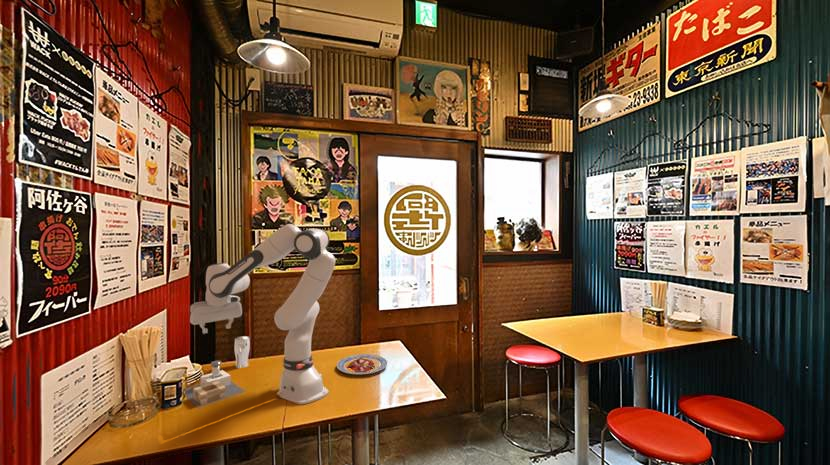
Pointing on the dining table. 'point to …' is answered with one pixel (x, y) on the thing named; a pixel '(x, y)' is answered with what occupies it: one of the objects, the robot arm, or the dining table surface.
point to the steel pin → (215, 369)
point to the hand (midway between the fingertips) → (216, 330)
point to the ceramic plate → (361, 364)
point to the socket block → (217, 379)
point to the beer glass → (242, 351)
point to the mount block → (209, 392)
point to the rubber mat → (230, 391)
